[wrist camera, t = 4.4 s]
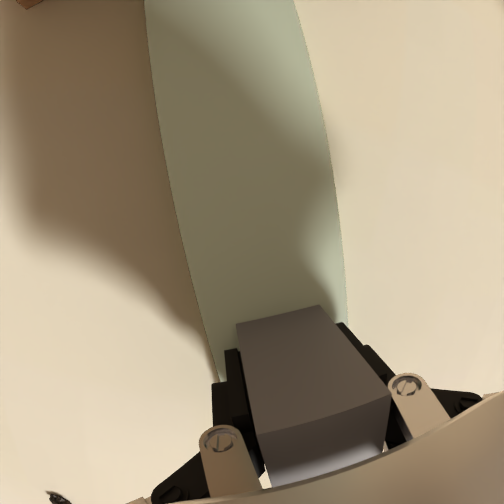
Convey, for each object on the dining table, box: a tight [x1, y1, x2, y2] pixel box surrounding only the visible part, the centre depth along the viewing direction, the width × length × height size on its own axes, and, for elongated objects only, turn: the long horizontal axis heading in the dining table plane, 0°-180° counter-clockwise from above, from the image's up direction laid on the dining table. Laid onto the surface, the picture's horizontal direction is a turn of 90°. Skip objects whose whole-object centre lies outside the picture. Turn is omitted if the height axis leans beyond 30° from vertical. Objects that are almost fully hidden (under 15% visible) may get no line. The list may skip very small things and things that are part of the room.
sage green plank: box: [144, 0, 392, 487], centre depth 8 cm, size 6×22×7 cm, turn 10°
